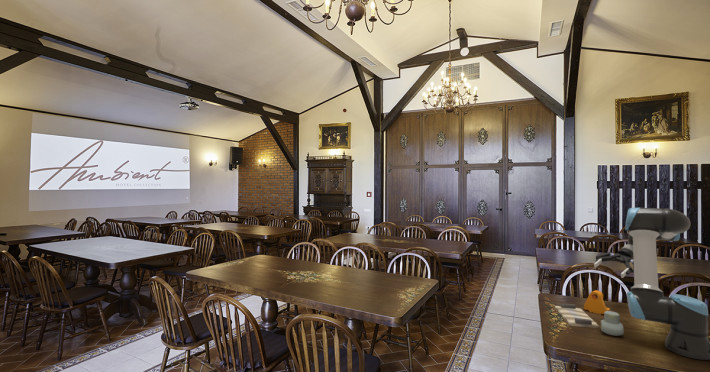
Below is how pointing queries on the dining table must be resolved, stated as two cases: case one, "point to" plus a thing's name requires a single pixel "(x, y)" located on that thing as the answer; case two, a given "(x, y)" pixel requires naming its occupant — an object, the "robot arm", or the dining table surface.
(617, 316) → the air freshener
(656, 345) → the dining table surface
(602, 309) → the bracket
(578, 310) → the rail board
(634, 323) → the dining table surface
